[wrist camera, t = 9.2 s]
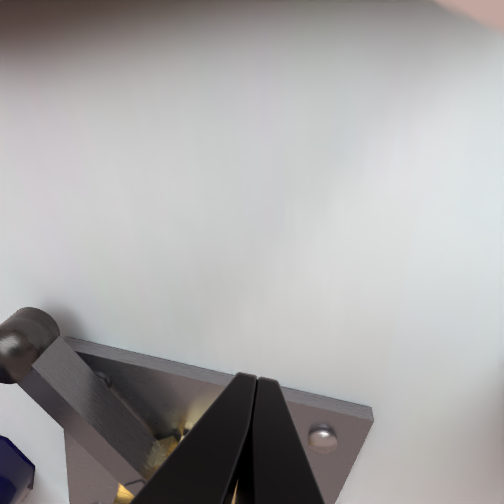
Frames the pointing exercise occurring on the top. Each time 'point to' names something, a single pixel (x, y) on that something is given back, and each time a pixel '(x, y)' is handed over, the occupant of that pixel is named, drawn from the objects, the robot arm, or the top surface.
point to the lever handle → (79, 400)
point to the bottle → (14, 473)
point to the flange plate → (192, 408)
